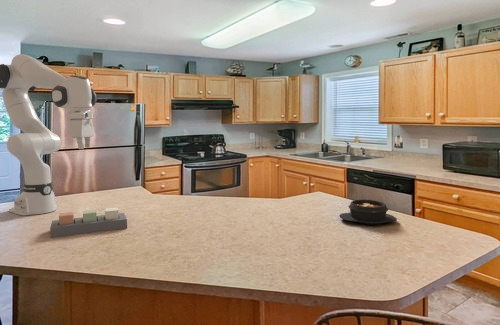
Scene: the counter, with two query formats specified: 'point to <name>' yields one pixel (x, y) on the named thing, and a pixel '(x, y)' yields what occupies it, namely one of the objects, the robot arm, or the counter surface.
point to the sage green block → (89, 216)
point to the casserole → (368, 212)
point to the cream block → (111, 213)
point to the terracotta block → (66, 218)
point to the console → (87, 226)
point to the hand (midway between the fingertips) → (84, 148)
